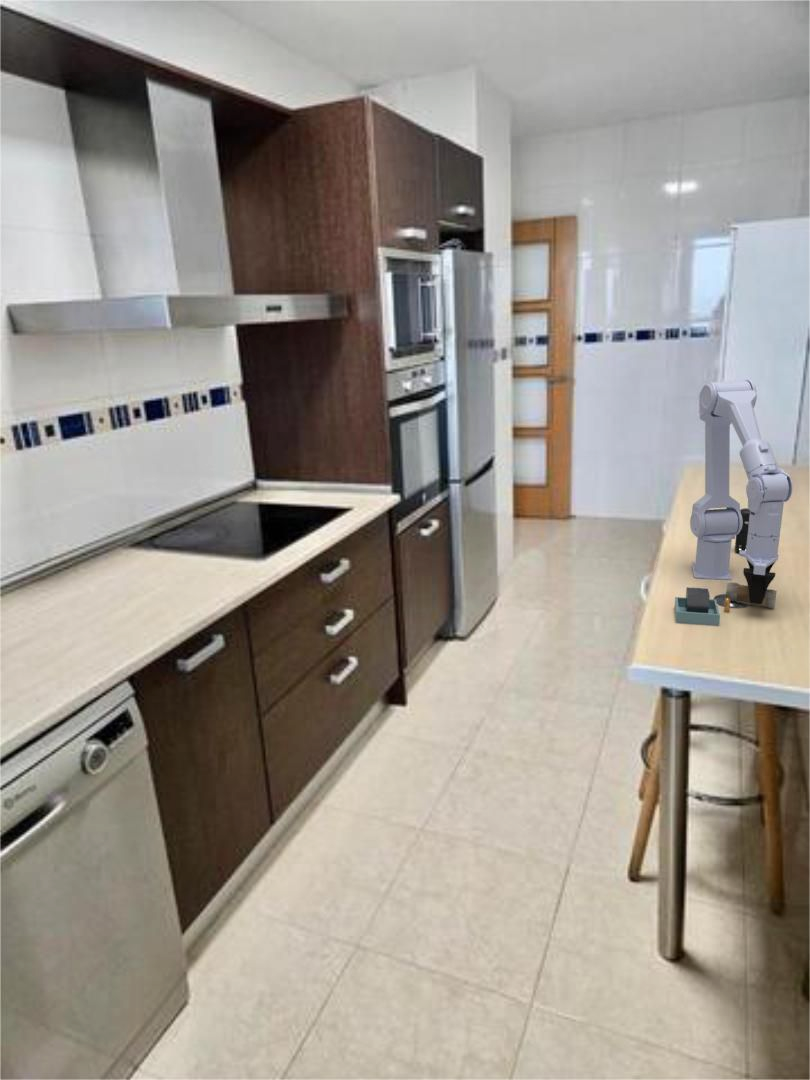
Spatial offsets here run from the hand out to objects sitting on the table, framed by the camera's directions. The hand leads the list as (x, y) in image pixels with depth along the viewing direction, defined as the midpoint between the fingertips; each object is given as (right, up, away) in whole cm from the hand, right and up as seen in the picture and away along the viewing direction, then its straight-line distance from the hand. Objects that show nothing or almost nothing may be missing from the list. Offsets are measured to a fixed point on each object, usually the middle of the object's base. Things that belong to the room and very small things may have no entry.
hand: (756, 596), depth 143 cm
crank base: (-4, -2, +2) cm, 5 cm away
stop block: (-13, -4, -2) cm, 14 cm away
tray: (-13, -4, -2) cm, 14 cm away
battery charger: (+14, +8, +31) cm, 35 cm away
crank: (-1, -1, +1) cm, 2 cm away
